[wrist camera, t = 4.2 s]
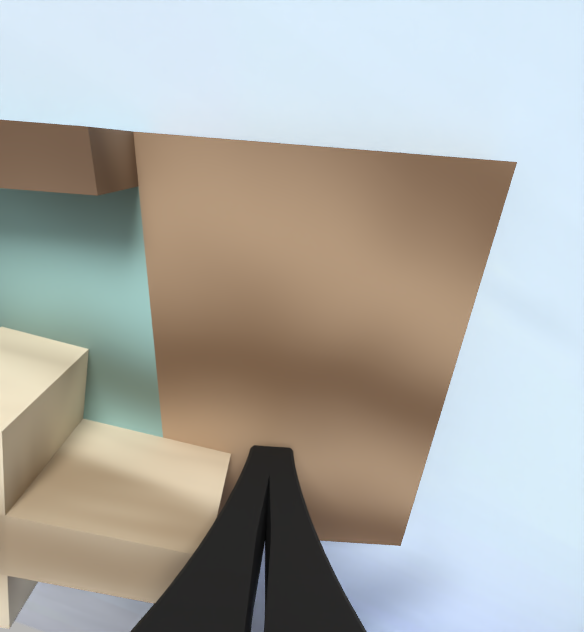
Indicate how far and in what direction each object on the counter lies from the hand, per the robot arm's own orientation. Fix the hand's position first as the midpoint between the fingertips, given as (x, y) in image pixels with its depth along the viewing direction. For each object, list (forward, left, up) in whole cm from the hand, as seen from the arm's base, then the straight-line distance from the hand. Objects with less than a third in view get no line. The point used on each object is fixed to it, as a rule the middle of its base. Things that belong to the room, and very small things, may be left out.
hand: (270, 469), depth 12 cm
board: (+2, +3, -2) cm, 5 cm away
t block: (-1, +5, -1) cm, 5 cm away
